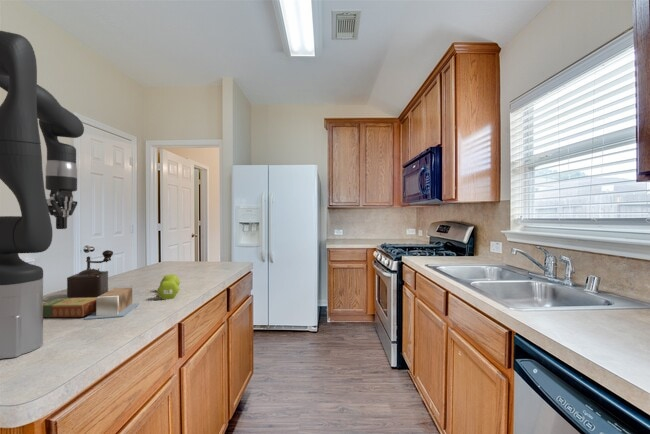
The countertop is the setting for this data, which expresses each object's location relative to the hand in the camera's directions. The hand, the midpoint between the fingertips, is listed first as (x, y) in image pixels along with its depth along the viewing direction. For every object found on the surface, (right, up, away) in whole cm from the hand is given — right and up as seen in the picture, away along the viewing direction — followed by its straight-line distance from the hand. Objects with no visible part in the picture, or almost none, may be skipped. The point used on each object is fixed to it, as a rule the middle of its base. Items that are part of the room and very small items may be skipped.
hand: (61, 228), depth 91 cm
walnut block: (+11, -26, +13) cm, 31 cm away
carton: (0, -29, +3) cm, 29 cm away
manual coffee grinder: (-11, -29, +25) cm, 40 cm away
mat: (+13, -29, +6) cm, 32 cm away
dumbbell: (+20, -29, +27) cm, 45 cm away
